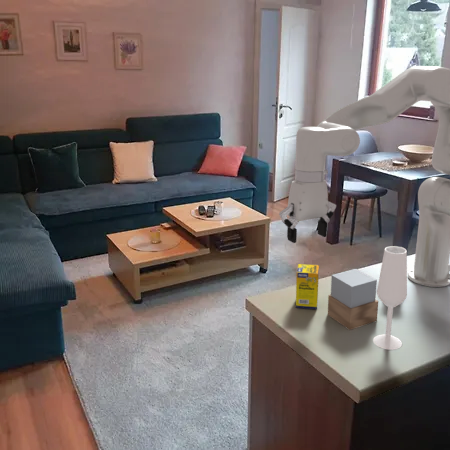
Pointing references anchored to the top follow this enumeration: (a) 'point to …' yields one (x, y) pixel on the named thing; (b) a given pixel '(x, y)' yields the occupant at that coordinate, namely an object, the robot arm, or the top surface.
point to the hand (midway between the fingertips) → (307, 238)
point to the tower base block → (352, 313)
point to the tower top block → (353, 288)
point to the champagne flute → (392, 291)
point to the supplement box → (307, 286)
